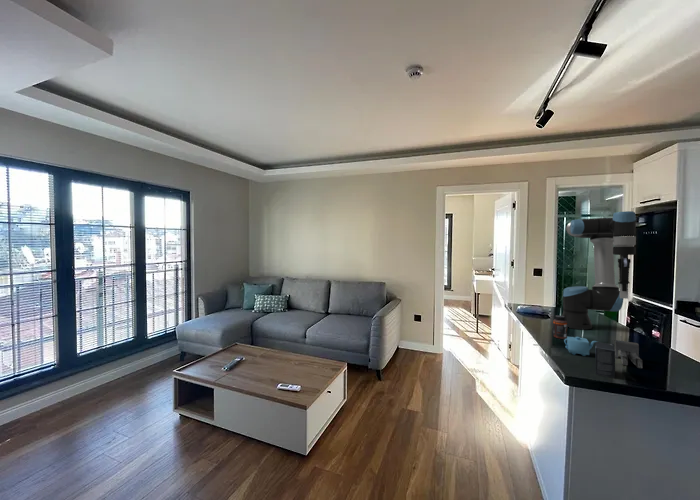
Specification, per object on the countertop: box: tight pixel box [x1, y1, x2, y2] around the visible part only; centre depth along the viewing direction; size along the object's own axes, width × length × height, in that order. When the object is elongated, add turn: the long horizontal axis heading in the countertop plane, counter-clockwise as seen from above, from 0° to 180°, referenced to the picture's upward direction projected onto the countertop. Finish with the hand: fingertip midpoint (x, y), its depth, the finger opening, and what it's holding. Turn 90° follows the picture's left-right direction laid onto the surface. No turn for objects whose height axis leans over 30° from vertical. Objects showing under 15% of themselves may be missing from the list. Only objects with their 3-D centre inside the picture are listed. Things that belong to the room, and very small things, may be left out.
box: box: [595, 341, 616, 379], centre depth 113 cm, size 8×6×11 cm
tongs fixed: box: [618, 350, 629, 367], centre depth 125 cm, size 15×3×3 cm, turn 142°
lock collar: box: [614, 339, 640, 359], centre depth 126 cm, size 3×7×7 cm, turn 52°
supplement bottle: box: [552, 314, 568, 340], centre depth 155 cm, size 6×6×11 cm
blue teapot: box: [563, 335, 599, 357], centre depth 133 cm, size 12×6×8 cm, turn 60°
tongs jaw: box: [628, 352, 644, 369], centre depth 121 cm, size 11×2×3 cm, turn 150°
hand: (623, 298), depth 134 cm, fingers closed
